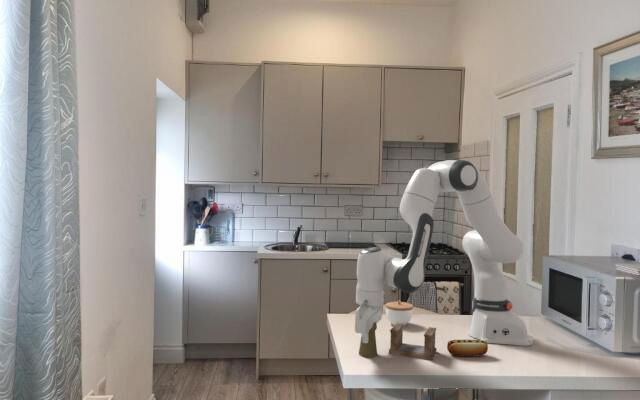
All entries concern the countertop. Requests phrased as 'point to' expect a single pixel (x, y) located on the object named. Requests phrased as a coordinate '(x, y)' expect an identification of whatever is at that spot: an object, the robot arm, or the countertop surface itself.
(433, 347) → the holder
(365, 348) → the olive green bulbous cylinder
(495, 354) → the countertop surface
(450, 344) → the hot dog
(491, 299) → the robot arm
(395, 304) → the lidded jar
